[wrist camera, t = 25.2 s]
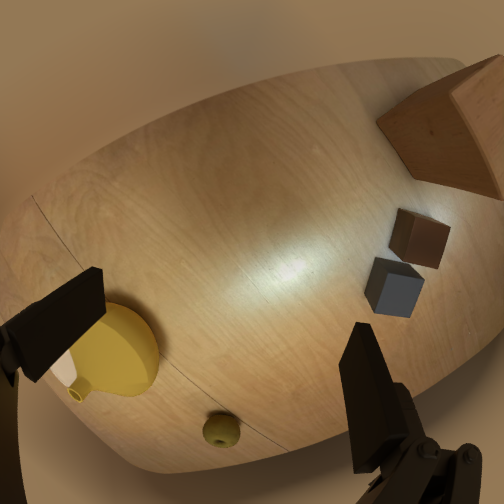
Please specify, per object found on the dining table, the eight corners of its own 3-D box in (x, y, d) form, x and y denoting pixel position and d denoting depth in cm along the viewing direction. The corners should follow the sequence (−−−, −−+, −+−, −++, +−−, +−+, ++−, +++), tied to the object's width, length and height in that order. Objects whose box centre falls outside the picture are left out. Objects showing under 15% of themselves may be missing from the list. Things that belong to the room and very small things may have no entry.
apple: (244, 428, 54) (239, 453, 47) (210, 425, 55) (203, 449, 48) (240, 409, 51) (235, 435, 45) (204, 406, 53) (195, 431, 46)
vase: (190, 343, 47) (149, 424, 29) (140, 377, 52) (100, 441, 35) (118, 268, 44) (45, 324, 26) (80, 317, 50) (25, 368, 32)
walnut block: (398, 207, 35) (415, 216, 29) (431, 217, 35) (451, 227, 29) (388, 247, 37) (402, 261, 31) (420, 255, 37) (438, 269, 31)
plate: (33, 333, 56) (30, 336, 54) (66, 329, 52) (62, 333, 50) (66, 384, 61) (63, 388, 59) (103, 388, 57) (100, 392, 55)
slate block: (375, 257, 38) (388, 272, 32) (409, 264, 37) (424, 279, 32) (364, 293, 40) (373, 313, 34) (397, 298, 39) (409, 318, 34)
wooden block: (374, 121, 32) (449, 91, 13) (419, 88, 29) (503, 51, 10) (413, 180, 34) (504, 204, 15) (455, 145, 31) (549, 149, 12)
